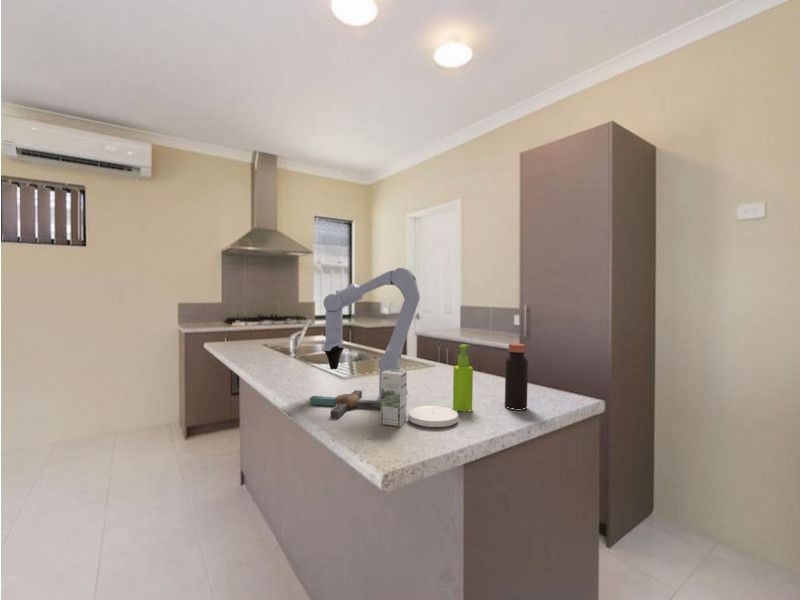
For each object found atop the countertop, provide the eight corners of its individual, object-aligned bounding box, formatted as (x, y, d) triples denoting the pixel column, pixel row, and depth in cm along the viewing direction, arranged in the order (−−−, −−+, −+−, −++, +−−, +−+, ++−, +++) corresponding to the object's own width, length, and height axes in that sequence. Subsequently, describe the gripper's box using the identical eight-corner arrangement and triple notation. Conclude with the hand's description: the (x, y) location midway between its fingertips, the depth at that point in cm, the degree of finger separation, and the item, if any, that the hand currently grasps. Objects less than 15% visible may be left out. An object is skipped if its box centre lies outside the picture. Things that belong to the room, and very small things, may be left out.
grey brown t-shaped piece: (392, 398, 133) (392, 389, 133) (376, 421, 110) (376, 410, 109) (348, 395, 136) (348, 387, 136) (323, 417, 112) (323, 407, 112)
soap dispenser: (475, 407, 124) (476, 344, 124) (469, 413, 118) (470, 346, 118) (457, 404, 127) (458, 342, 126) (450, 410, 121) (451, 345, 120)
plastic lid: (419, 411, 120) (419, 403, 120) (464, 418, 114) (464, 409, 114) (399, 425, 108) (399, 416, 107) (448, 434, 101) (448, 424, 101)
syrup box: (406, 421, 110) (407, 369, 110) (399, 427, 105) (400, 373, 104) (387, 418, 112) (388, 367, 112) (379, 425, 106) (380, 371, 106)
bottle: (530, 407, 125) (532, 344, 124) (520, 412, 120) (522, 346, 119) (510, 403, 129) (512, 342, 129) (500, 407, 124) (501, 344, 124)
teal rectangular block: (336, 403, 125) (336, 397, 125) (334, 405, 123) (334, 399, 123) (312, 402, 127) (312, 395, 127) (309, 404, 124) (309, 397, 124)
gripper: (329, 327, 143) (329, 364, 143) (315, 331, 128) (314, 372, 129) (348, 327, 142) (348, 365, 142) (335, 331, 127) (335, 373, 128)
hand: (333, 368), depth 135 cm, fingers closed
